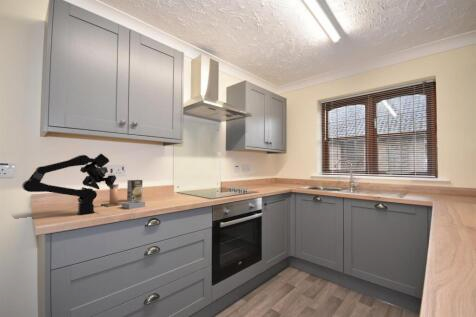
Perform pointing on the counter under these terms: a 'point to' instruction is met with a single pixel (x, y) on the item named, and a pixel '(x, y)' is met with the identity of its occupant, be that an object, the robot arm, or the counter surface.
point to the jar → (114, 194)
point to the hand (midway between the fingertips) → (106, 188)
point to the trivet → (111, 205)
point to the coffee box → (134, 190)
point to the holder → (133, 204)
